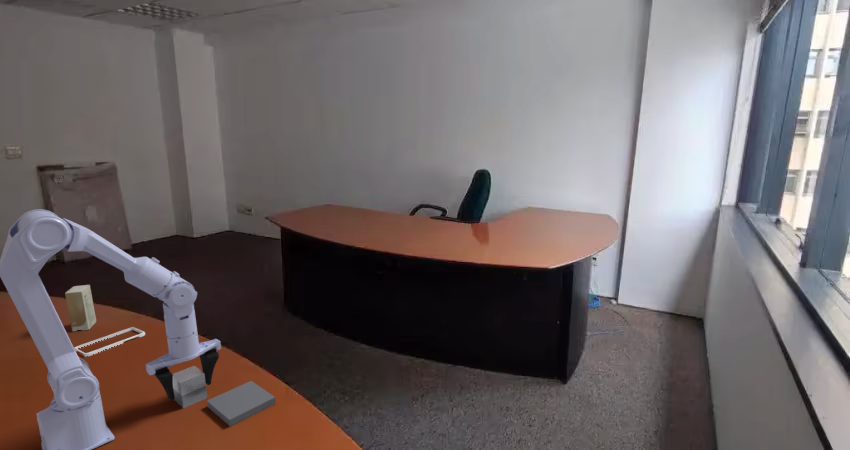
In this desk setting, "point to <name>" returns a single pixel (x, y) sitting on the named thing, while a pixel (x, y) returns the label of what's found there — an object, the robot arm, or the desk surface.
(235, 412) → the stand
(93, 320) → the skincare box
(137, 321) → the desk surface
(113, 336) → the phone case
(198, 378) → the block
